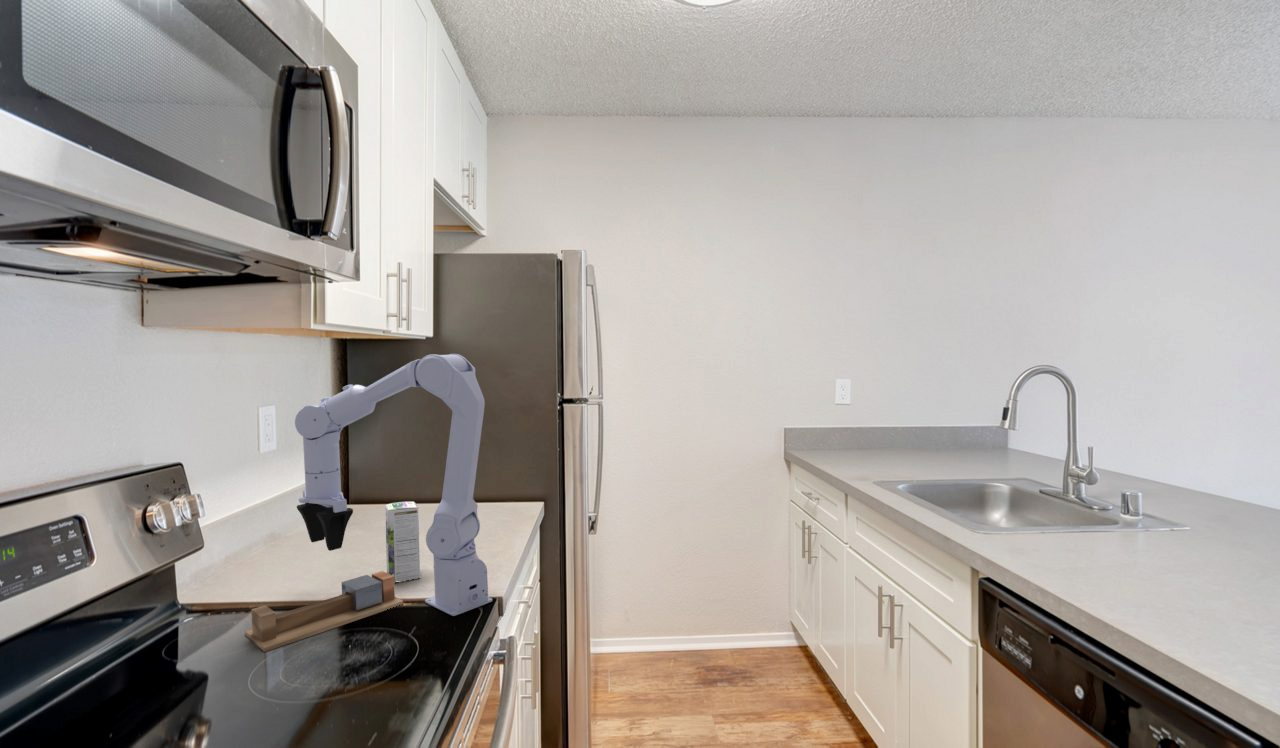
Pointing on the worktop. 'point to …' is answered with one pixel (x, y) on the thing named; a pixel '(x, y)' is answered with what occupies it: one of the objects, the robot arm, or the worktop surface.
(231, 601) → the worktop surface
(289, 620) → the rail
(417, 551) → the syrup box
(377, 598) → the slider
